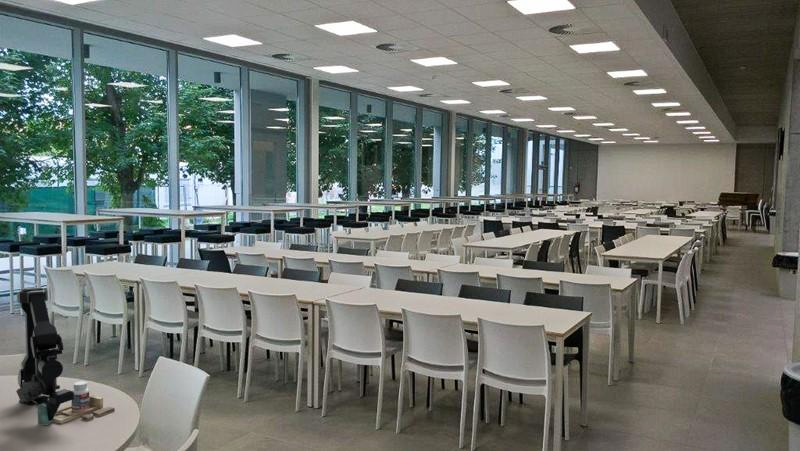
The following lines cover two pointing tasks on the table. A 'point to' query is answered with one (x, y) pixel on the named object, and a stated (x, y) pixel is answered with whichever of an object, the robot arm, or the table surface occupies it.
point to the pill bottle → (80, 397)
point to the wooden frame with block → (68, 411)
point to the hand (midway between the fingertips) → (47, 419)
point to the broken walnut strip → (98, 413)
